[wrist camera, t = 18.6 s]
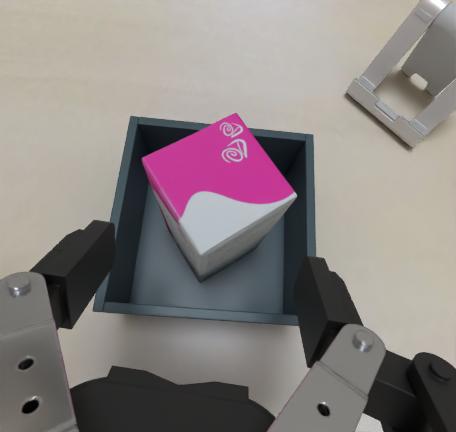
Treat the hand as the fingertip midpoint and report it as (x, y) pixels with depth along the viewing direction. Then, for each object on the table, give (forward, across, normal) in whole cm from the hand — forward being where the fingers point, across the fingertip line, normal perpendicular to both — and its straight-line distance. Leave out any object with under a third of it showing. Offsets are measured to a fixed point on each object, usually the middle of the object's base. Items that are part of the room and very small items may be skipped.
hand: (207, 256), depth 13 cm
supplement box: (+11, 0, +6) cm, 13 cm away
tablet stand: (+24, -16, -6) cm, 30 cm away
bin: (+12, 0, +6) cm, 13 cm away
